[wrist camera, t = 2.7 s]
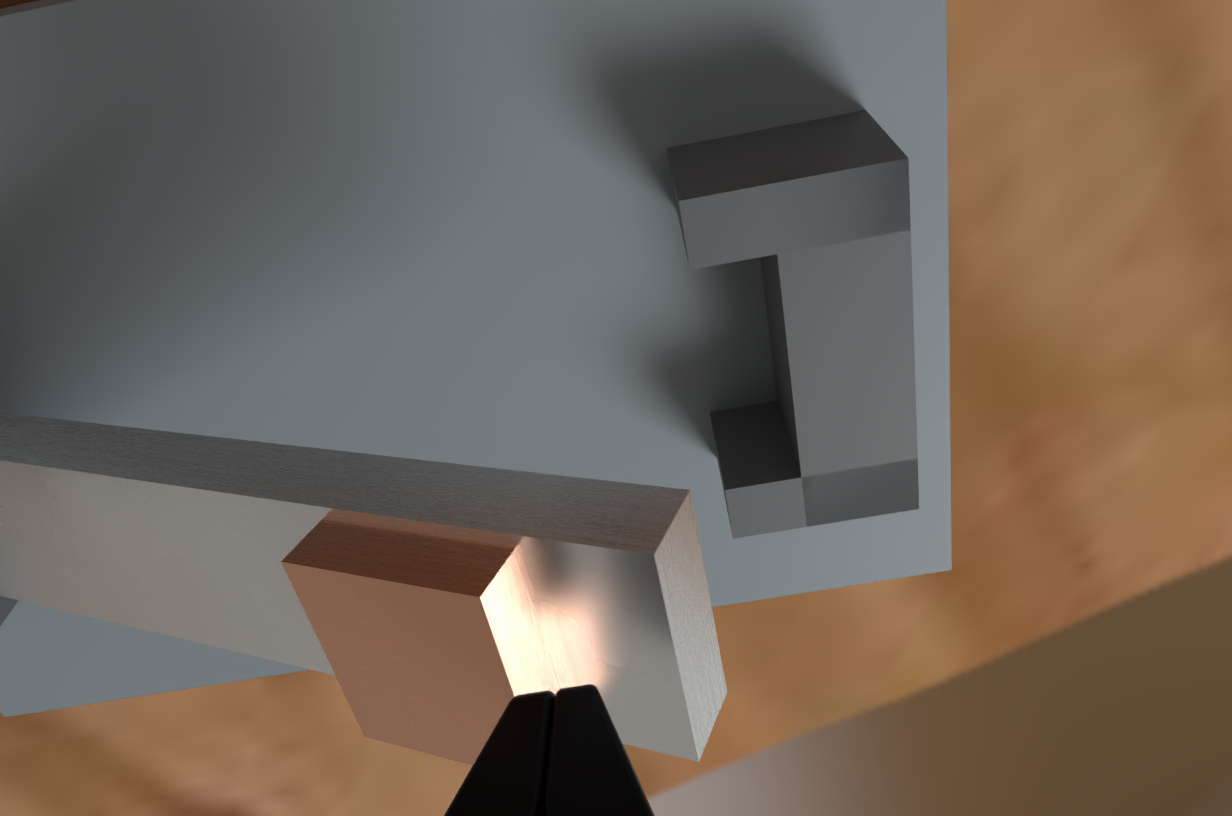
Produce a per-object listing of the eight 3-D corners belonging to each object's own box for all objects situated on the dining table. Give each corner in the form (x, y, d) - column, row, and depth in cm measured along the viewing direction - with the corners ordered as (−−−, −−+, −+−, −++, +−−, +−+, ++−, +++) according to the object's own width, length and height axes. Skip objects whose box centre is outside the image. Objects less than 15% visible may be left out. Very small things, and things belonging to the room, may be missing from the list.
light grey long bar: (-50, 521, 18) (-160, 599, 17) (-145, 385, 17) (-275, 457, 15) (734, 672, 12) (672, 824, 10) (700, 471, 10) (620, 614, 9)
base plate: (37, 664, 22) (-65, 825, 19) (-368, 87, 16) (-645, 171, 12) (929, 522, 21) (998, 668, 17) (912, -187, 14) (1020, -182, 10)
